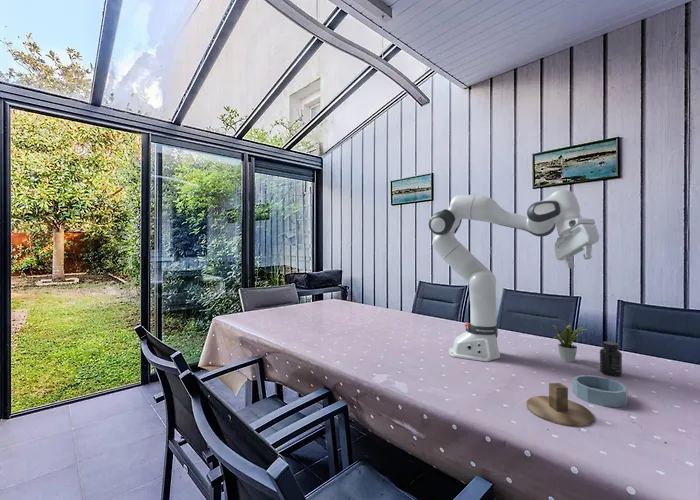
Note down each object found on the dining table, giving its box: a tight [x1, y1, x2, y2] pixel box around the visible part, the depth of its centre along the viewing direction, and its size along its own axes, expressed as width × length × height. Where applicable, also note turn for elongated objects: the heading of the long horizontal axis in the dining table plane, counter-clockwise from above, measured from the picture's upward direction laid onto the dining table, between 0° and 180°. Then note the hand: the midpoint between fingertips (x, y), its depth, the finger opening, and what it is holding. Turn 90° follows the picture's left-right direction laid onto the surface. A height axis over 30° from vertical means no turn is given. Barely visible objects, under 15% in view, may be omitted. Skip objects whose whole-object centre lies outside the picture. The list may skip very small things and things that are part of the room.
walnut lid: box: [526, 382, 594, 427], centre depth 101 cm, size 17×17×8 cm
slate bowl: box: [572, 374, 629, 408], centre depth 110 cm, size 14×14×4 cm
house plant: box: [552, 322, 588, 363], centre depth 144 cm, size 14×14×16 cm
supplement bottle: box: [599, 340, 623, 378], centre depth 129 cm, size 7×7×12 cm
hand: (579, 263), depth 122 cm, fingers open, 8 cm apart
